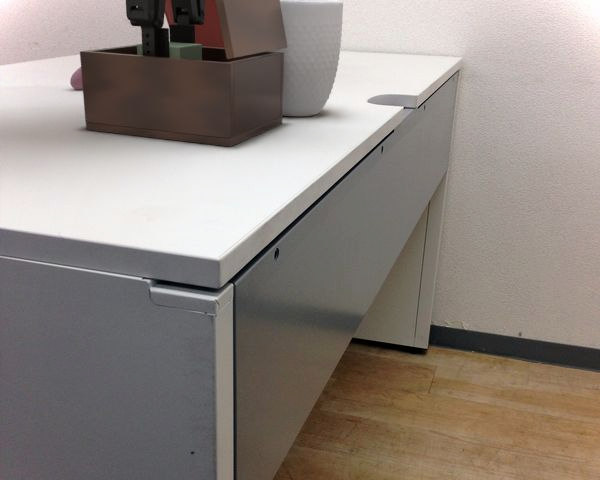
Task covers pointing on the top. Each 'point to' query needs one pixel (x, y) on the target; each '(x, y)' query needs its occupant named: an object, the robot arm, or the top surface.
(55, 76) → the top surface
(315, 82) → the mug
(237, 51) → the lid
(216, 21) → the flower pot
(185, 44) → the block
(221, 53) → the chest
